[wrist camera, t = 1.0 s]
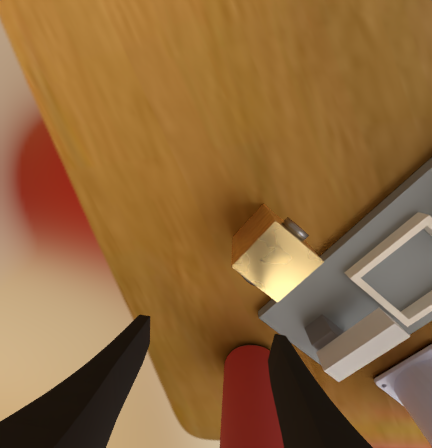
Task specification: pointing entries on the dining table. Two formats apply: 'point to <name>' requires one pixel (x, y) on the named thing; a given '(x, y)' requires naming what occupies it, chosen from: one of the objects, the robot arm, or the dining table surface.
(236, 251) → the block
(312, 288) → the shaft board
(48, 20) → the dining table surface
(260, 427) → the beer can
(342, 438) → the robot arm
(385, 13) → the dining table surface
